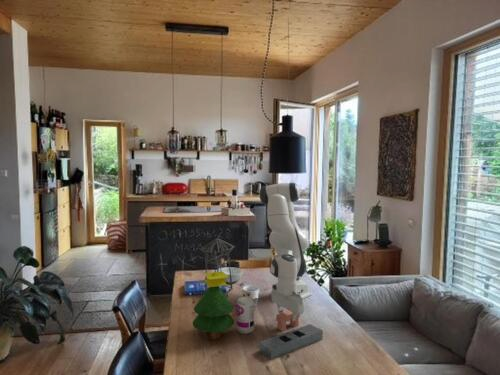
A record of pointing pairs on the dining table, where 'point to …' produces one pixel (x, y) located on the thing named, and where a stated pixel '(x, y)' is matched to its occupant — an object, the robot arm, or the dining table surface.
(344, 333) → the dining table surface
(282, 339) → the rail
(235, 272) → the cereal bowl
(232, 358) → the dining table surface
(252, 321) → the supplement can
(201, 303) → the decorative tree
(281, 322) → the pink notched block
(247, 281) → the dining table surface
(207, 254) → the geometric lantern
